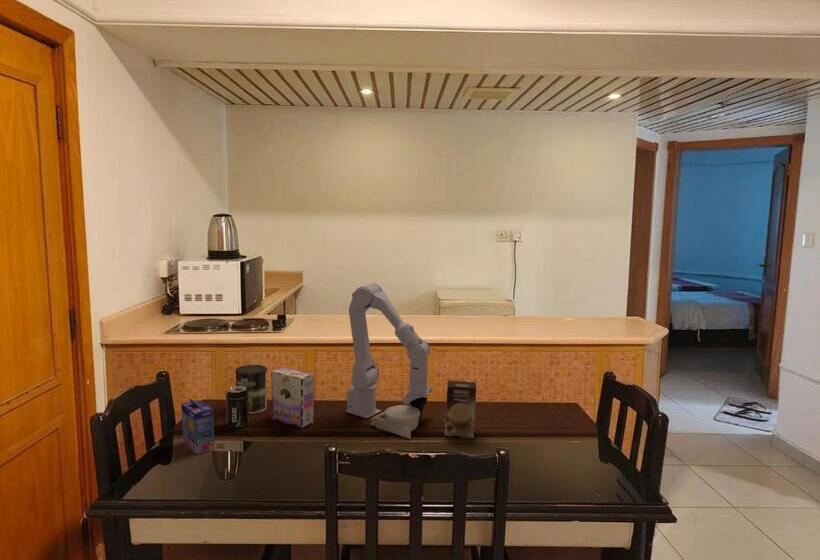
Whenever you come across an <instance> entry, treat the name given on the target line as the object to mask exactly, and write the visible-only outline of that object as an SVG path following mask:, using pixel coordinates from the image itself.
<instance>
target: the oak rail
mask: <svg viewBox="0 0 820 560" xmlns="http://www.w3.org/2000/svg"><path fill="white" fill-rule="evenodd" d="M377 417H378V418H382V419H385V420H386V416H385V411H381V413H380V412H379V413H377V414H375V415H373V417H372V416H371V418H370V426H371V425H375V424H376V418H377Z"/></svg>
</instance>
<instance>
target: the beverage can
mask: <svg viewBox="0 0 820 560" xmlns="http://www.w3.org/2000/svg"><path fill="white" fill-rule="evenodd" d="M225 419H226V420H225V421H226V422H225V423H226V424H225V425H226V426H227V427H229V428H231V429H241V428H243V427H245V426H247V425H248V424H249V422H250V414H249V394H248V391H247V390H246V387H244V386H236V385H235V386H230V387H228V388H227V392H226V393H225Z"/></svg>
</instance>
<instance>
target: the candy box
mask: <svg viewBox="0 0 820 560" xmlns="http://www.w3.org/2000/svg"><path fill="white" fill-rule="evenodd" d="M270 372H271V373H270V374H271V379H270V382H271V420H274V421H278V422H280V423H284V424H287V425H291V426H295V427H297V428H300V429H303V428H305V427H307V426H309V425H312V424H314V422H315V418H314V417H315V416H314V415H315V413H314V411H315V410H314V409H315V406H314V404H315V403H314V401H315V398H314V397H315V396H314V395H315V394H314V393H315V388H314V387H315V385H314V384H315V381H314V379H315V374H314V373H309V372H304V371H300V370H297V369H292V368H287V367H281V368H277V369H274V370H271V371H270Z"/></svg>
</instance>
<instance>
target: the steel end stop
mask: <svg viewBox="0 0 820 560" xmlns="http://www.w3.org/2000/svg"><path fill="white" fill-rule="evenodd" d="M375 427H377V428H380V429H383V430H386V431H389V432H391V433H395V434H397V435H400V436H399V437H401V436H402V437H401V438H404V437H406V438H405V439H407V438H410V439H411V437H412V433H411V432H412V431H411V427H408V426H405V425H401V424H398V423H395V422H391V421H388V420H385V419H382V418H378V417H377V418H376V424H375ZM391 433H390V434H391ZM397 435H396V436H397Z"/></svg>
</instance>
